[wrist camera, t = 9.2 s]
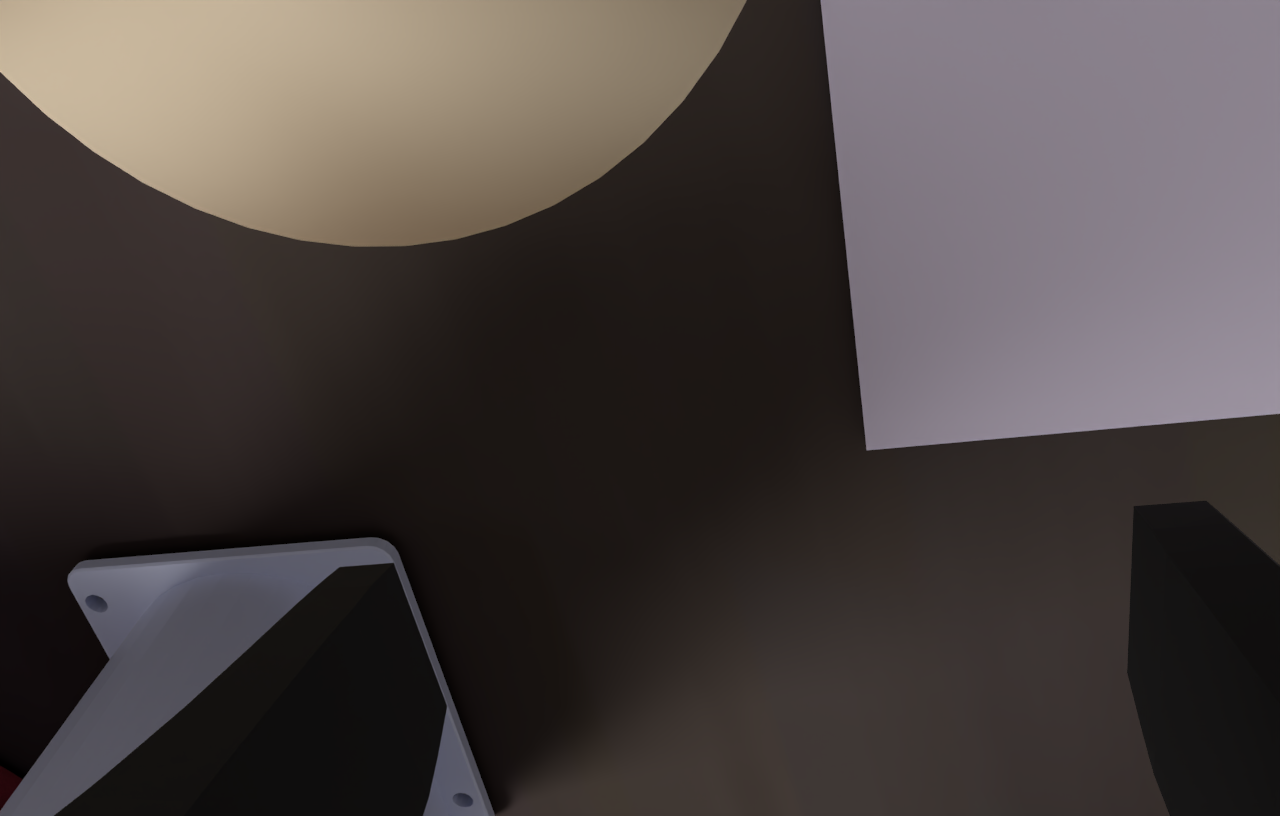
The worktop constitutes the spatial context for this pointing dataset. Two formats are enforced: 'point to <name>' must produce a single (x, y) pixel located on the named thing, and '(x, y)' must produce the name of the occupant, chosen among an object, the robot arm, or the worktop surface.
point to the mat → (1058, 212)
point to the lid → (362, 101)
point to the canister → (7, 785)
